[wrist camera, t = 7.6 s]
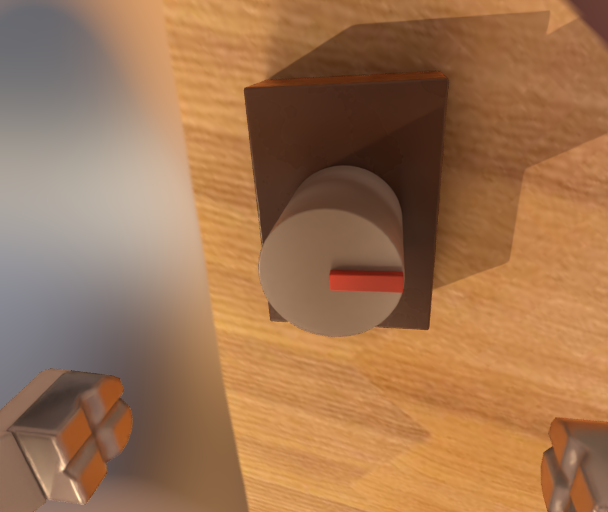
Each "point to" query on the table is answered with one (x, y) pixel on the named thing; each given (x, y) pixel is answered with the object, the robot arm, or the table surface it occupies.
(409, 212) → the panel
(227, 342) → the table surface
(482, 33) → the table surface
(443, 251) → the table surface
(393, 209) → the knob
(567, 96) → the table surface
